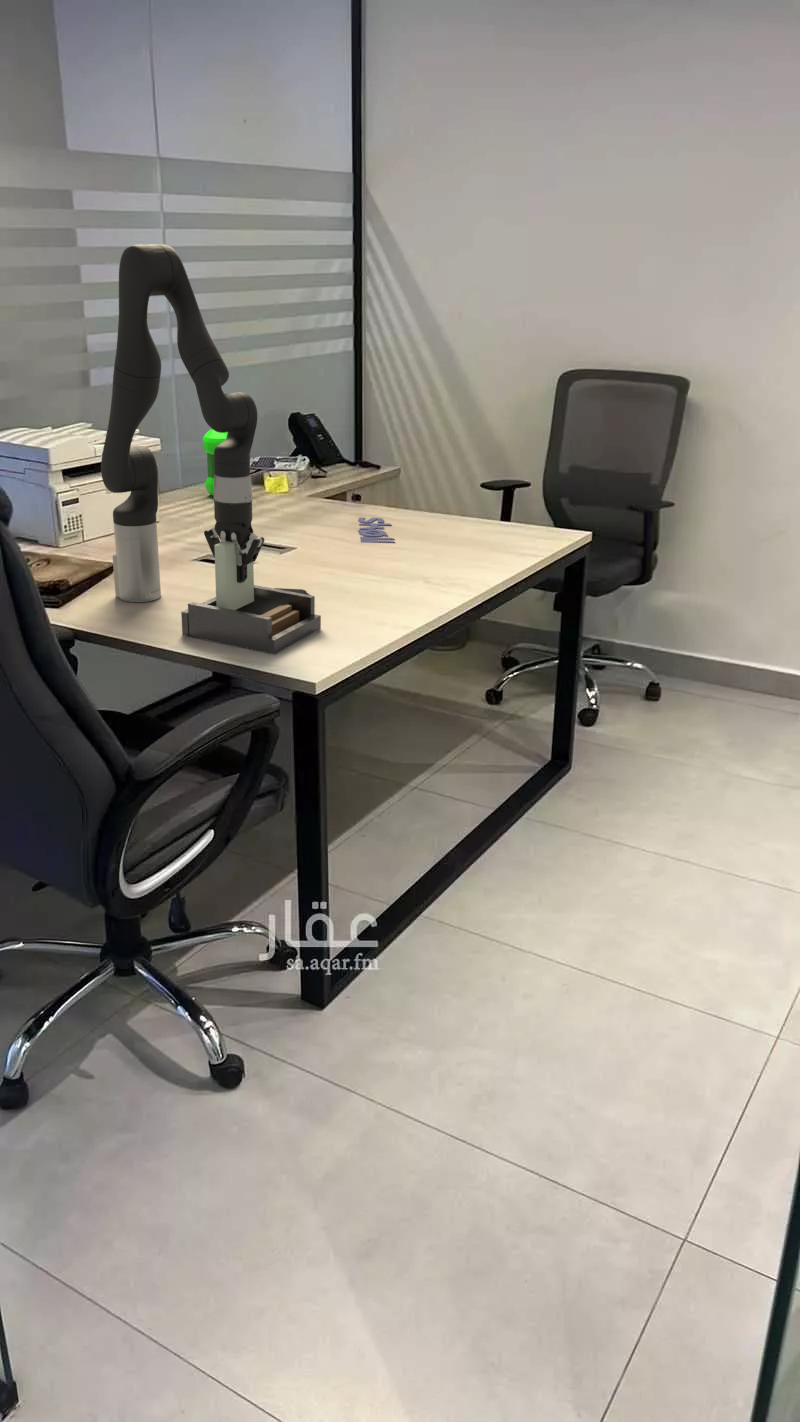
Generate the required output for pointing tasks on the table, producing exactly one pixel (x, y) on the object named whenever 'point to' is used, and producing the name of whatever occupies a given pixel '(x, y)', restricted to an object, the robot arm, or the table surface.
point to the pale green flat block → (231, 578)
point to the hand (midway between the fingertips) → (235, 580)
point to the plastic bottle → (212, 455)
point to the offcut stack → (282, 618)
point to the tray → (252, 621)
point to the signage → (373, 531)
